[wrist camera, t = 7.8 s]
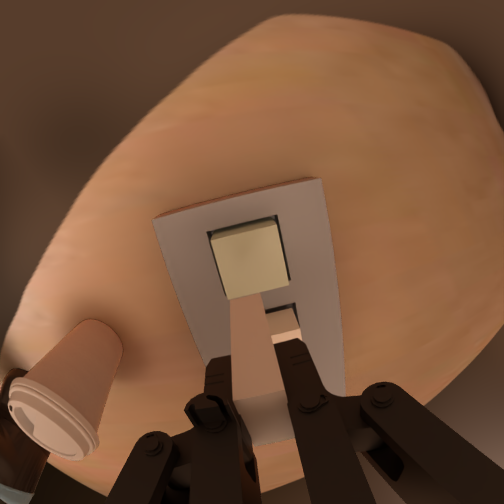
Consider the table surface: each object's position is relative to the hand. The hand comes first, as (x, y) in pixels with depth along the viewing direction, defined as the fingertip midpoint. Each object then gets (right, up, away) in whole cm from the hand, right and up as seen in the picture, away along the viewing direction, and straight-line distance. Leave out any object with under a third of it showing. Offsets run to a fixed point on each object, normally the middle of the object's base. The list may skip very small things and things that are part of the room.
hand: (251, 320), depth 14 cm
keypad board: (+2, -4, +14) cm, 15 cm away
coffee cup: (-18, -7, +15) cm, 24 cm away
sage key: (0, +4, +11) cm, 12 cm away
